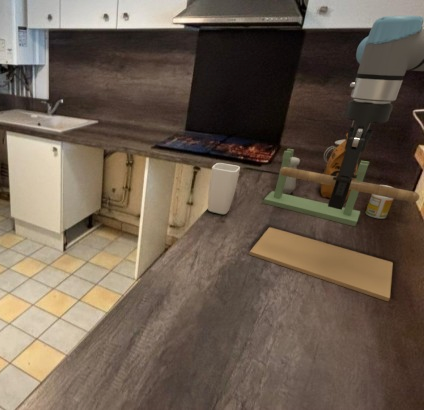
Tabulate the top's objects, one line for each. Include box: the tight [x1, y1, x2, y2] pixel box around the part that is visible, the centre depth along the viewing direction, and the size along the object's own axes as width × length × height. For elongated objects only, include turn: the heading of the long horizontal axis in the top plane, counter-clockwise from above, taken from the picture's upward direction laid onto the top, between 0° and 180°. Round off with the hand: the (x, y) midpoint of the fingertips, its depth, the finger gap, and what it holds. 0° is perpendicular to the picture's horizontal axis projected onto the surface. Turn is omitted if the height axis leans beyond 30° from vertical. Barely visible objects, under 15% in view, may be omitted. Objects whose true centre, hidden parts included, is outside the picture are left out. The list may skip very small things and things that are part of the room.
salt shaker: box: [283, 156, 301, 195], centre depth 129 cm, size 6×6×13 cm
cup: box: [207, 162, 241, 216], centre depth 112 cm, size 7×7×15 cm
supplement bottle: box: [365, 184, 394, 220], centre depth 112 cm, size 5×5×10 cm
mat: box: [248, 226, 394, 303], centre depth 89 cm, size 28×18×1 cm, turn 50°
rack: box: [262, 148, 370, 227], centre depth 114 cm, size 26×10×18 cm, turn 50°
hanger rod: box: [279, 167, 420, 203], centre depth 81 cm, size 26×2×2 cm, turn 50°
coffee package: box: [320, 132, 359, 202], centre depth 125 cm, size 10×12×22 cm
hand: (335, 205), depth 83 cm, fingers closed on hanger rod, 2 cm apart
